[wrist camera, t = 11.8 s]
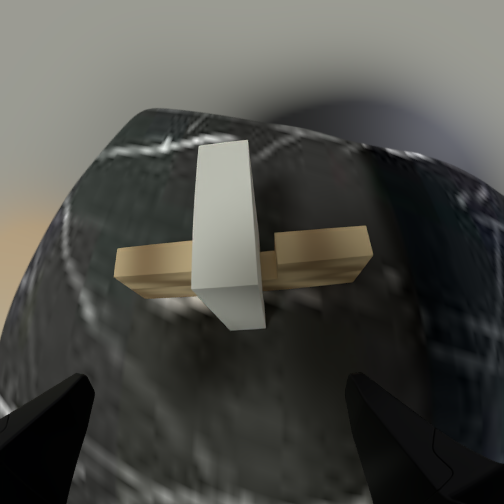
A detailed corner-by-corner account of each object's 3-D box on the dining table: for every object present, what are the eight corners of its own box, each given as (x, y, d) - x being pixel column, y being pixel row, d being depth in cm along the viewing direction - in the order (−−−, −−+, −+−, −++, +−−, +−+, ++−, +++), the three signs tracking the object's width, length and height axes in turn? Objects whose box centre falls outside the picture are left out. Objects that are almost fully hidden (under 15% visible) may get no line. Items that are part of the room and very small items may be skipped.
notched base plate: (348, 257, 21) (365, 225, 16) (352, 282, 20) (373, 255, 16) (146, 274, 22) (117, 248, 17) (145, 298, 21) (113, 276, 16)
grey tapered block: (266, 328, 19) (258, 284, 10) (230, 330, 19) (191, 289, 10) (258, 233, 22) (247, 140, 13) (227, 236, 23) (198, 145, 14)
